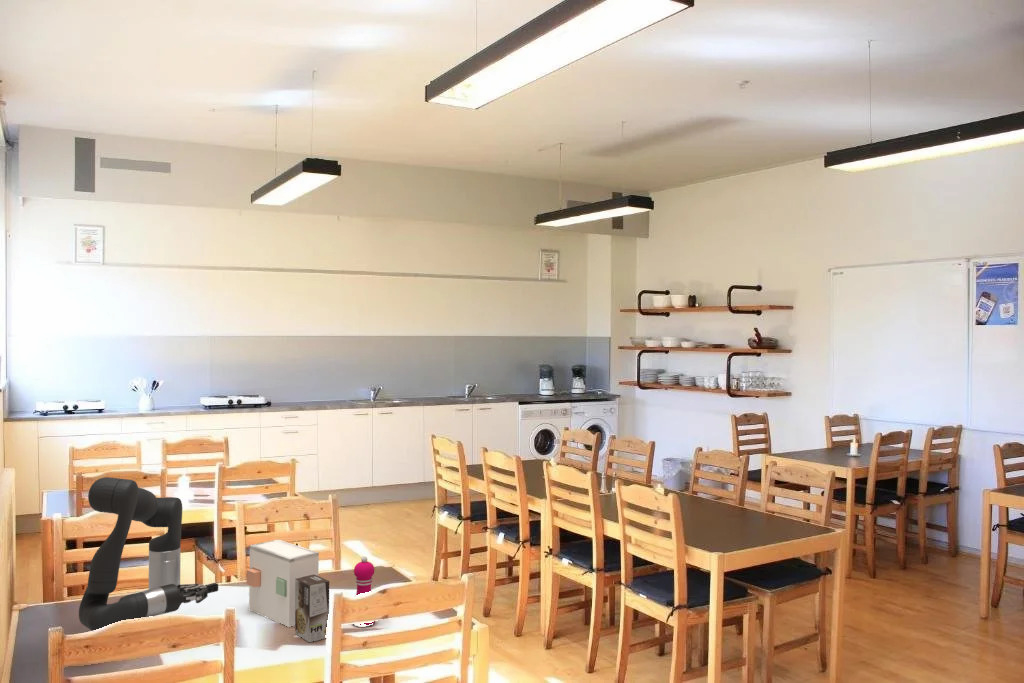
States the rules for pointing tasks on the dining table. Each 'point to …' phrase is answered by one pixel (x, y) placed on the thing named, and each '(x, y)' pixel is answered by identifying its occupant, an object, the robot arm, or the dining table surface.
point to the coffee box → (311, 607)
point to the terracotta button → (254, 577)
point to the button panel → (283, 564)
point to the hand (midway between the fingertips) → (217, 586)
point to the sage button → (281, 587)
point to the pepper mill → (364, 577)
